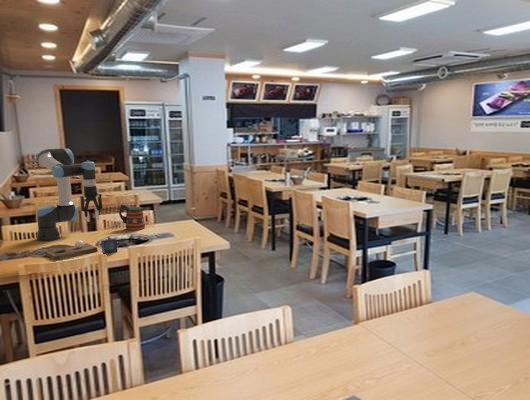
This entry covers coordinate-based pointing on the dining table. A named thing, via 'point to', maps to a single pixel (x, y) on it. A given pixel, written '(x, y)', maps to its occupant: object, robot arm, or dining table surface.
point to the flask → (109, 245)
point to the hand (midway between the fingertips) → (92, 220)
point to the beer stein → (133, 217)
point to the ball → (79, 244)
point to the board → (70, 251)
